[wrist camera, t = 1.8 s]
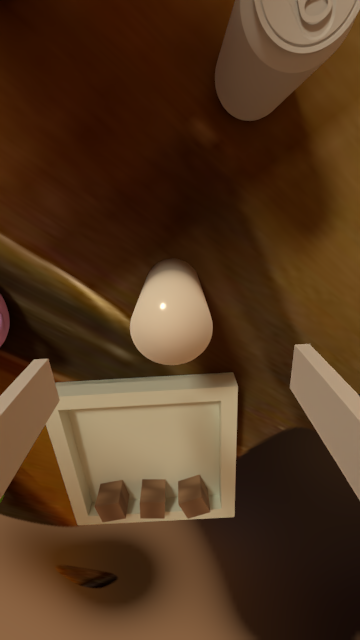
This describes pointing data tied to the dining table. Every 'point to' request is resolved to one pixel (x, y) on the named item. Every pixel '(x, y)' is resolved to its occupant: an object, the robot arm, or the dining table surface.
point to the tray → (147, 440)
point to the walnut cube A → (112, 501)
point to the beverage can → (276, 50)
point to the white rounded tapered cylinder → (171, 315)
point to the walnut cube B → (152, 499)
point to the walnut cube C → (193, 496)
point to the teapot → (3, 320)
